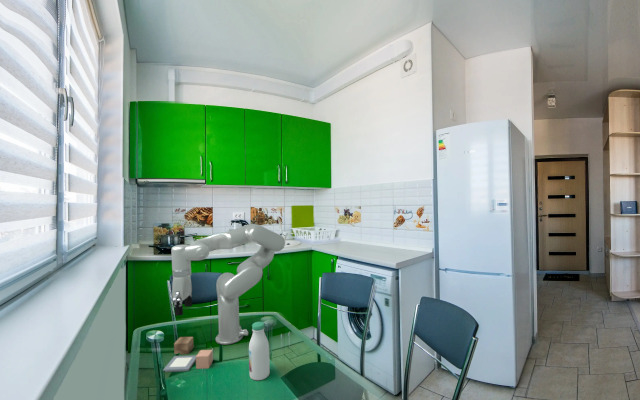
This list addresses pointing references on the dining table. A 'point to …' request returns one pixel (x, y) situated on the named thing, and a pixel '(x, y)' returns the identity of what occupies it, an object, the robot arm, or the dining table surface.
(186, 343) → the walnut block
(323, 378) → the dining table surface
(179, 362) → the plate
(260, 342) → the milk bottle
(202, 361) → the terracotta block
